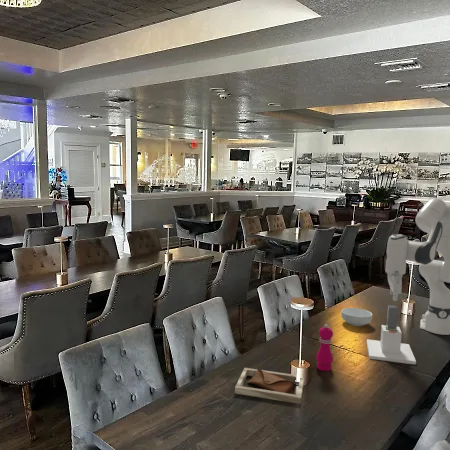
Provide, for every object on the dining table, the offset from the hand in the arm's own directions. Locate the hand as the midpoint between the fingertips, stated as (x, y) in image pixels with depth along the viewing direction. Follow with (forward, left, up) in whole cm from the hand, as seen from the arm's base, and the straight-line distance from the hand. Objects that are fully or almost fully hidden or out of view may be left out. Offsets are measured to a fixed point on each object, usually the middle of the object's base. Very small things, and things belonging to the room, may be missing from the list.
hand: (393, 297), depth 196 cm
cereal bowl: (-36, -14, -28) cm, 48 cm away
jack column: (0, 0, -21) cm, 21 cm away
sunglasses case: (+50, -50, -27) cm, 76 cm away
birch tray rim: (+50, -50, -27) cm, 76 cm away
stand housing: (0, 0, -27) cm, 27 cm away
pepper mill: (+26, -30, -28) cm, 48 cm away
